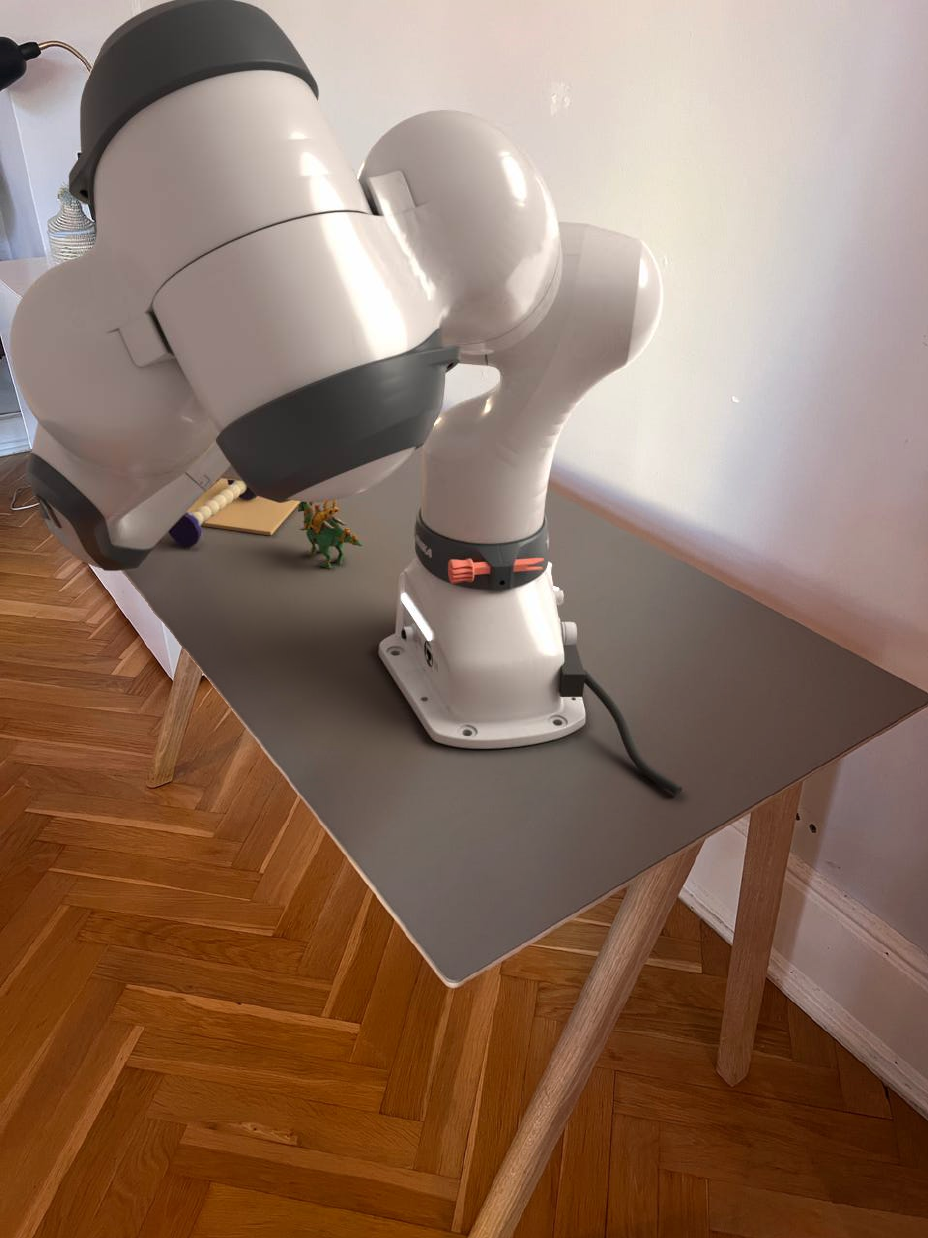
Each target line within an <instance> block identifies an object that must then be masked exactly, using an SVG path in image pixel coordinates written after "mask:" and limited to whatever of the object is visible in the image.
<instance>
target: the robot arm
mask: <svg viewBox="0 0 928 1238" xmlns="http://www.w3.org/2000/svg"><path fill="white" fill-rule="evenodd" d="M319 96H320V90H319V86H318V83H317V81H316V79H315V77H314V75H313V74H312V72H311V70H310V69H309V67H308V66H307V64H306V62H305V60H304V58H303V57H302V56H301V54H300V53H299V51H298V50H297V48H296V47H295V45H294V44H293V42H292V41H291V39H290V38H289V37H288V35H287V34H286V33H285V31H284V30H283V29H282V28H281V27H280V25H278V23H277V22H276V21H275V20H274V19H273V18H272V17H271V16H270V15H269V14H268V13H267V12H266V11H265V10H263V9H262V8H260V7H258V6H255V5H253V4H251V3H247V2H244V1H240V0H170V1H166V2H163V3H160V4H158V5H157V4H156V5H155V6H152V7H150V8H148V9H145V10H144V11H142V12H140V13H137V14H135V16H132V17H131V18H129V19H128V20H126V21H125V22H124V23H123V24H121V25H120V26H119V27H117V28H116V29H115V30H114V31H113V32H112V33H111V34H110V35H109V36H108V37H107V38H106V40H105V41H104V42H103V44H102V45H101V47H100V49H99V51H98V52H97V55H96V56H95V59H94V62H93V63H92V66H91V68H90V71H89V74H88V77H87V79H86V82H85V85H84V87H83V90H82V94H81V99H80V105H79V132H80V133H79V135H80V137H79V138H80V155H79V157H78V159H77V160H76V161H75V163H74V165H73V167H72V168H71V170H70V171H69V174H68V192H69V194H70V195H71V196H72V197H73V198H75V200H78V201H79V202H80V203H81V202H82V203H83V204H85V205H88V206H89V209H90V214H91V216H92V217H93V218H94V219H95V221H96V236H95V240H94V243H93V245H92V247H91V248H90V249H89V250H87V252H85V253H83V254H81V255H79V256H76V257H74V258H71V259H68V260H65V261H63V262H61V263H59V264H57V265H54V266H52V267H51V268H49V269H48V270H47V271H45V272H44V273H43V274H41V275H39V277H37V279H36V280H35V281H33V282H32V284H30V286H29V287H28V289H27V290H26V292H24V294H23V296H22V297H21V299H20V301H19V304H18V305H17V307H16V310H15V313H14V315H13V318H12V322H11V327H10V333H9V351H10V358H11V359H10V360H11V365H12V369H13V372H14V373H13V374H14V377H15V380H16V382H17V385H18V388H19V391H20V393H21V396H22V398H23V400H24V402H25V403H26V405H27V407H28V409H29V411H30V412H31V414H32V415H33V417H34V418H35V419H36V421H37V425H36V428H35V433H34V438H33V442H32V446H31V447H32V448H31V452H29V455H28V459H27V463H26V468H25V472H24V473H25V476H26V480H27V482H28V485H29V486H30V489H31V491H32V493H33V494H34V497H35V499H36V500H37V502H38V507H39V513H40V517H41V518H42V519H44V522H45V524H46V525H45V526H47V528H48V530H49V531H50V533H51V534H52V536H53V537H54V538H55V539H56V541H58V543H59V544H60V545H61V546H62V547H64V548H65V549H66V550H67V551H68V552H69V553H70V554H72V555H73V556H75V558H77V559H79V560H80V561H82V562H84V563H85V564H88V565H90V566H92V567H95V568H99V569H102V570H103V571H106V572H120V571H128V570H134V569H137V568H139V567H140V565H141V564H142V563H143V562H144V561H145V560H146V558H147V557H149V555H150V554H151V552H152V551H153V550H154V549H155V548H156V546H157V544H158V542H159V541H161V539H163V537H164V536H165V535H166V534H167V533H169V532H168V531H169V530H170V529H171V528H172V527H173V526H174V525H175V524H176V522H177V521H178V520H179V519H180V518H181V517H182V516H183V515H184V514H185V513H186V512H187V511H188V510H189V509H190V508H191V507H192V506H193V505H194V504H195V503H196V502H197V501H198V500H199V499H200V497H201V496H202V495H203V494H204V493H205V492H206V491H208V490H209V489H210V488H211V487H212V486H213V485H214V484H215V483H216V482H217V481H218V480H220V479H228V480H236V481H244V483H245V484H246V485H247V486H248V487H249V488H250V489H251V490H252V491H253V493H254V494H255V495H256V496H259V497H262V498H265V499H269V500H272V501H275V502H278V503H284V502H287V501H291V500H294V501H302V502H307V503H309V502H314V503H321V502H322V503H323V502H324V503H325V501H333V500H336V501H337V500H341V499H347V498H350V497H353V496H355V495H358V494H361V493H363V492H365V491H367V490H369V489H372V488H373V487H375V486H377V485H379V484H380V483H381V482H383V481H385V480H386V479H388V478H389V477H390V476H391V475H392V474H394V473H395V472H396V471H397V470H398V469H399V468H400V467H402V465H404V463H405V462H406V461H407V460H408V459H409V458H410V457H411V455H412V454H413V453H414V451H416V450H418V449H420V448H421V487H420V488H421V490H420V507H419V508H418V510H417V512H416V516H415V517H416V518H415V523H414V528H413V529H414V531H413V534H414V535H413V537H414V551H415V556H414V557H413V559H412V561H411V562H410V563H409V564H408V565H407V567H405V569H403V571H401V573H400V574H399V575H398V584H397V600H396V617H395V619H396V620H395V632H394V633H393V634H391V635H388V636H387V637H385V638H384V639H382V640H381V641H380V643H379V645H378V652H377V653H378V657H379V658H380V660H381V662H382V663H383V665H384V666H385V668H386V670H387V671H388V673H389V674H390V676H391V677H392V679H393V680H394V682H395V684H396V685H397V687H398V688H399V690H400V691H401V693H402V695H403V696H404V697H405V699H406V701H407V703H408V704H409V705H410V707H411V709H412V711H413V712H414V713H415V715H416V717H417V718H418V720H419V722H420V723H421V725H422V726H423V728H424V730H425V731H426V733H427V734H428V735H429V737H430V738H431V740H433V742H436V743H439V744H443V745H446V746H451V747H455V748H462V749H475V750H477V749H478V750H479V749H481V750H483V749H484V750H488V749H489V750H490V749H505V748H517V747H523V746H524V747H525V746H531V745H536V744H542V743H546V742H550V741H554V740H558V739H561V738H564V737H567V736H568V735H570V734H572V733H575V732H576V731H578V730H579V729H581V728H582V727H584V725H585V724H586V709H585V706H584V700H583V697H584V696H583V695H584V688H585V685H586V686H587V687H588V689H590V690H591V692H593V694H594V695H595V696H596V697H597V698H598V700H600V702H601V703H602V704H603V706H604V707H605V708H606V710H607V711H608V713H609V714H610V715H611V717H612V719H613V721H614V723H615V725H616V727H617V728H616V729H618V732H619V736H620V738H621V741H622V743H623V746H624V748H625V749H624V750H626V753H627V755H628V757H629V758H630V760H631V761H632V763H633V764H634V765H635V767H636V768H637V769H638V770H639V771H640V772H641V773H642V774H643V775H644V776H646V778H649V779H650V780H651V781H652V782H654V783H656V784H658V786H659V785H660V786H661V787H663V788H664V789H666V790H667V791H669V792H670V793H672V794H674V795H675V796H678V795H680V794H681V793H682V790H683V787H682V786H681V785H679V784H678V783H676V782H675V781H673V780H672V779H670V778H668V777H667V776H664V775H662V774H661V773H660V772H658V771H656V770H655V769H654V768H652V767H651V766H650V765H649V764H648V762H646V760H645V759H644V758H643V757H642V755H641V754H640V753H639V751H638V749H637V747H636V745H635V743H634V741H633V737H632V735H631V732H630V729H629V726H628V724H627V721H626V720H625V718H624V715H623V714H622V712H621V710H620V709H619V707H618V705H616V703H615V701H614V700H613V699H612V698H611V696H610V695H609V694H608V693H607V691H605V689H604V688H603V687H602V686H601V685H600V684H599V683H598V682H597V681H596V680H595V678H593V677H592V676H591V674H590V673H589V672H588V671H587V670H586V669H585V668H584V665H583V662H582V659H581V655H580V651H579V649H578V645H577V641H578V630H577V624H576V622H573V621H561V618H560V617H559V612H558V606H562V605H563V604H564V591H563V590H562V589H560V588H559V587H557V586H554V582H553V576H552V569H553V568H552V567H553V564H552V562H550V561H549V547H550V534H549V531H548V518H547V517H546V514H545V509H546V501H547V500H546V499H547V493H548V486H549V485H548V484H549V479H550V474H551V469H552V463H553V459H554V454H555V450H556V446H557V443H558V440H559V437H560V436H561V433H562V431H563V428H564V427H565V424H566V422H567V421H568V419H569V418H570V416H571V415H572V413H573V412H574V411H575V409H576V408H577V407H578V405H579V404H580V403H581V402H582V401H583V399H584V398H585V397H586V396H587V395H589V393H591V391H592V390H593V389H595V388H596V387H597V386H598V385H599V384H601V383H602V382H604V381H605V380H606V379H608V378H609V377H611V376H612V375H614V374H615V373H617V372H619V371H621V370H623V369H625V368H626V367H627V366H629V365H631V364H632V363H633V362H634V361H635V360H636V359H637V358H638V357H639V356H640V355H641V354H642V353H643V351H645V350H646V348H647V346H648V345H649V344H650V342H651V340H652V338H653V337H654V335H655V333H656V330H657V328H658V325H659V323H660V319H661V316H662V311H663V304H664V288H663V281H662V275H661V272H660V269H659V266H658V263H657V260H656V259H655V257H654V254H653V253H652V251H651V249H650V248H649V247H648V245H647V244H646V243H645V242H644V240H642V239H640V238H637V237H633V236H630V235H628V234H624V233H621V232H617V231H615V230H611V229H607V228H604V227H600V226H596V225H592V224H589V223H583V222H569V221H568V222H567V221H559V220H558V215H557V210H556V207H555V204H554V200H553V197H552V194H551V192H550V190H549V188H548V185H547V183H546V181H545V178H544V177H543V175H542V173H541V171H540V170H539V169H538V167H537V165H536V163H534V161H533V159H532V158H531V157H530V156H529V154H528V153H527V152H526V151H525V149H524V148H523V147H522V146H521V145H520V144H518V142H517V141H515V140H514V139H513V138H512V137H511V136H510V135H509V134H508V133H507V132H505V131H504V130H503V129H501V128H500V127H498V126H497V125H495V124H494V123H491V122H490V121H488V120H487V119H484V118H483V117H481V116H478V115H475V114H472V113H469V112H465V111H461V110H451V109H450V110H448V109H439V110H430V111H426V112H422V113H418V114H415V115H412V116H410V117H408V118H406V119H404V120H402V121H400V122H399V123H397V124H396V125H394V126H393V127H392V128H390V129H389V130H388V131H387V132H385V133H384V134H383V135H382V136H381V137H380V138H379V139H378V140H377V142H375V144H374V145H373V146H372V147H371V149H370V151H369V152H368V153H367V155H366V157H365V158H364V160H363V162H362V164H361V165H360V166H361V167H360V168H359V170H358V174H356V172H355V170H354V167H353V165H352V163H351V161H350V160H349V157H348V155H347V152H346V151H345V149H344V147H343V145H342V143H341V141H340V139H339V137H338V135H337V133H336V131H335V129H334V128H333V125H332V123H331V122H330V120H329V117H328V116H327V114H326V112H325V111H324V109H323V108H322V106H321V104H320V102H319V98H320V97H319ZM459 364H460V365H472V366H483V367H491V368H495V369H496V370H498V372H499V381H498V382H497V384H495V385H494V386H493V387H492V388H491V389H489V390H487V391H485V392H483V393H481V394H479V395H476V396H474V397H471V398H469V399H465V400H463V401H461V402H457V403H456V404H454V405H452V406H450V407H449V408H447V409H445V410H444V411H442V408H443V406H444V397H445V388H446V373H448V372H450V371H451V370H452V369H454V368H455V367H456V366H457V365H459ZM441 411H442V412H441Z"/></svg>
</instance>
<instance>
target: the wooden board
mask: <svg viewBox="0 0 928 1238" xmlns="http://www.w3.org/2000/svg"><path fill="white" fill-rule="evenodd" d="M228 486H229V485H228V481H227V479H220V478H219V479H218V480H217V481H216V482H215V484H213V485H212V486H211V487H210V488H209V489H208V490H207V491H204V492H205V493H204V494H203V495H202V496H201V497H200V499H199V500H198V501H197V502H196V503H195V504H194V505H193V506H192V507H191V508H190V509H189V510H188V511H187V512H188V513H190V514H191V513H192V512H195V511H196V509H197V508H199V507H201V506H203V505H204V504H205V503H206V502H207V501H210V500H211V499H212V498H213V497H214V496H216V495H218V494H219V493H220V492H221V491H223V490H225V489H226V488H227V487H228ZM300 502H301V501H294V500H291V501H287V502H284V503H278V502H275V501H272V500H269V499H265V498H262V497H259V496H257V497H256V498H254V499H252V500H245V499H242V498H240V497H237V498H236V499H234V500H232V502H231V503H230V504H228V505H226V506H225V507H224V508H223V509H222V510H220V511H218V512H217V514H215V515H214V516H211V517H210V518H209V519H208V520H207V521H205V522H203V523H202V524H201V527H207V528H208V527H209V528H214V529H215V528H216V529H222V530H228V531H235V532H242V533H243V532H244V533H250V534H257V535H265V536H272V535H273V534H274V533H275V532H276V530H277V529H278V528H279V527H280V526H281V525H283V524H282V523H283V522H285V520H286V519H287V518H288V517H289V516H290V515H291V513H292V512H293V511H294V510H295V509H296V508H297V507H298V506H299V505H298V504H299V503H300Z"/></svg>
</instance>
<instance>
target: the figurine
mask: <svg viewBox="0 0 928 1238" xmlns="http://www.w3.org/2000/svg"><path fill="white" fill-rule="evenodd" d="M314 503H315V502H302V501H301V502H300V503H299V504H298V505H297V506H298V508H297V512H298V513H299V512H303V520H302V523H303V527H300V526H298V529H299V530H300V531H305V532H306V537H307V539H308V541H309V543H310V544H311V548H310V549H311V550H310V552H309V553H307V554H306V555H307V556H310V557H314V555H315V554H316V552H317V547H316V545H317V546H318V552H319V553H321V554H322V555H323V557H325V558H326V562H323V563H321V564H320V566H321V567H324V568H326V567H328V568H330V569H331V568H332V565H331V563H330V562H331V559H332V556H331V553H330V547H333V548H334V547H335V549H336V550H337V551H338V556H337V557H336V558H333V559H332V561H333V562H336V563H339V564H340V565H342V564H343V561H342V559H343V557H344V554H345V553H344V550H343V547H344V543H345V544H347V543H348V544H350V545H352V546H358V547H362V546H363V544H362V542H360V541H359V539H358V536H357V535H356V534H352V536H351V529H349V528H348V527H345V528H344V530H343V529H342V527H340V525H342V526H347V523H345V522H343V521H342V520H341V519H339V518H338V517H337V516H335V515H334V514H339V511H340V508H339V507H337V504H338V503H337V500H333V501H324V503H323V506H322V507H323V510H321V507H320V504H315V505H314V510H313V508H312V507H313V504H314ZM330 503H332V506H328V505H329V504H330Z"/></svg>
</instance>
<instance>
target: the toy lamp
mask: <svg viewBox="0 0 928 1238" xmlns="http://www.w3.org/2000/svg"><path fill="white" fill-rule="evenodd" d="M227 481H228V485H229V486H228V487H227V488H226V489H225V490H223V491H221V492H220V493H219V494H218V495H216V496H214V497H213V498H212V499H211V500H210V501H207V502H206V503H205V504H204V505H203V506H201V507H199V508H197V509H196V511H195V512H192V513H191V514H190V513H188V512H186V513H185V514H184V515H183V516H182V517H181V518H180V519H179V520H178V521H177V522H176V524H175V525H174V526H173V527H172V528H171V529H170V530H169V531H168V532H167V533H168V534H169V535H170V537H171V538H172V539H173V540H174V542H176V543H177V544H179V545H180V546H183V547H185V548H186V547H193V546H195V545H196V544H197V543H198V542H199V540H200V539H201V537H202V526H201V524H202V523H203V522H205V521H207V520H208V519H209V518H210V517H211V516H214V515H215V514H217V512H218V511H220V510H222V509H223V508H224V507H225V506H226V505H228V504H230V503H231V502H232V500H234V499H236V498H237V497H240V498H242V499H245V500H252V499H254V498H256V497H257V496H256V495H255V494H254V493H253V491H252V490H251V489H250V488H249V487H248V486H247V485H246V484H245V483H244V481H236V480H228V479H227Z"/></svg>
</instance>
